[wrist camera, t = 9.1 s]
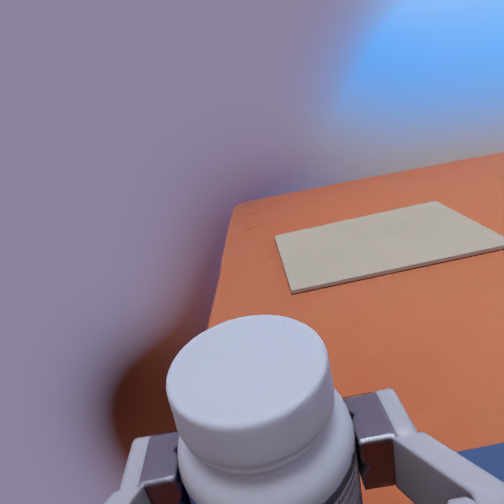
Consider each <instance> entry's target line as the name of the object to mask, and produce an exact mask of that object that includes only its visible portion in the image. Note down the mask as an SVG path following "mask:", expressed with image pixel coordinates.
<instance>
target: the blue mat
mask: <svg viewBox="0 0 504 504" xmlns="http://www.w3.org/2000/svg"><path fill="white" fill-rule="evenodd" d="M456 453H458V454H459V455H461V456H463V457H464V458H466V459H467V460H469V461H471V462H472V463H474V464H475V465H477V466H478V467H480V468H482V469H483V470H485V471H486V472H488V473H490V474H491V475H493V476H494V477H496V478H498V479H499V480H501V481H502V482H504V443H500V444H495V445H490V446H485V447H480V448H475V449H470V450H465V451H460V452H456Z"/></svg>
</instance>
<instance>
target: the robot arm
mask: <svg viewBox="0 0 504 504" xmlns="http://www.w3.org/2000/svg"><path fill="white" fill-rule="evenodd" d="M342 399H343V401H344V402H345V404H346V406H347V408H348V411H349V413H350V416H351V419H352V422H353V428H354V433H355V442H356V450H357V460H358V468H359V473H360V476H361V479H362V481H363V484H364V487H365V490H367V489H373V488H379V487H386V486H392V485H396V487H397V488H399V489H400V490H401V491H402V492H403V493H404V494H405V495H406V496H407V497H408V498H409V499H410V500H411V501H413V502H414V503H415V504H504V482H502V481H501V480H499V479H498V478H496V477H494V476H493V475H491V474H490V473H488V472H486V471H485V470H483V469H482V468H480V467H478V466H477V465H475V464H474V463H472V462H471V461H469V460H467V459H466V458H464V457H463V456H461V455H459V454H458V453H456V452H455V451H453V450H451V449H450V448H448V447H447V446H445V445H443V444H442V443H440V442H439V441H437V440H435V439H434V438H432V437H431V436H429V435H428V434H426V433H424V432H419V433H418V432H417V430H416V428H415V426H414V425H413V423H412V421H411V419H410V418H409V416H408V414H407V412H406V410H405V409H404V407H403V405H402V403H401V402H400V400H399V398H398V396H397V394H396V393H395V391H394V390H393V389H392V388H388V389H383V390H379V391H375V392H369V393H364V394H359V395H354V396H350V397H345V398H342ZM178 439H179V433H178V431H174V432H168V433H163V434H157V435H152V436H147V437H141V438H136V439H135V440H134V442H133V443H132V446H131V450H130V453H129V456H128V460H127V464H126V467H125V471H124V475H123V478H122V482H121V485H120V488H119V491H117V492H113V494H112V495H111V496H110V497H109V498H108V499H107V501H106V502H105V503H104V504H191V501H190V499H189V496H188V494H187V492H186V489H185V487H184V484H183V482H182V479H181V475H180V470H179V465H178Z"/></svg>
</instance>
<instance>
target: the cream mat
mask: <svg viewBox="0 0 504 504" xmlns="http://www.w3.org/2000/svg"><path fill="white" fill-rule="evenodd" d="M274 237H275V241H276V244H277V247H278V251H279V254H280V257H281V260H282V263H283V267H284V270H285V273H286V276H287V280H288V283H289V286H290V289H291V292H292V294H295V293H300V292H305V291H309V290H314V289H319V288H323V287H328V286H333V285H337V284H342V283H347V282H351V281H356V280H361V279H366V278H370V277H375V276H380V275H384V274H389V273H394V272H398V271H403V270H408V269H412V268H417V267H422V266H426V265H431V264H436V263H440V262H445V261H450V260H455V259H459V258H464V257H469V256H473V255H478V254H483V253H487V252H492V251H497V250H501V249H504V236H502V235H500V234H498V233H496V232H494V231H492V230H490V229H488V228H486V227H485V226H483V225H481V224H479V223H477V222H475V221H473V220H471V219H469V218H467V217H465V216H464V215H462V214H460V213H458V212H456V211H454V210H452V209H450V208H448V207H446V206H444V205H442V204H441V203H439V202H437V201H432V202H427V203H423V204H418V205H413V206H409V207H404V208H400V209H395V210H391V211H386V212H381V213H377V214H372V215H368V216H363V217H359V218H354V219H349V220H345V221H340V222H336V223H331V224H327V225H322V226H318V227H313V228H308V229H304V230H299V231H295V232H290V233H286V234H281V235H276V236H274Z"/></svg>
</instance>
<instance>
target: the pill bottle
mask: <svg viewBox="0 0 504 504" xmlns="http://www.w3.org/2000/svg"><path fill="white" fill-rule="evenodd" d="M166 392H167V396H168V400H169V403H170V406H171V410H172V412H173V415H174V419H175V423H176V427H177V430H178V433H179V439H178V465H179V470H180V475H181V479H182V482H183V484H184V487H185V489H186V492H187V494H188V496H189V499H190V501H191V504H363V502H362V493H361V483H360V476H359V468H358V460H357V450H356V442H355V433H354V428H353V422H352V419H351V416H350V413H349V411H348V408H347V406H346V404H345V402H344V401H343V399H342V397H341V396H340V395H339V393H338V392H337V391H336V390H335V388H334V385H333V380H332V375H331V370H330V363H329V357H328V352H327V349H326V347H325V344H324V342H323V341H322V339H321V338H320V336H319V335H318V334H317V333H316V332H315V331H314V330H313V329H311V328H310V327H309V326H307V325H305V324H303V323H301V322H299V321H297V320H294V319H291V318H288V317H283V316H277V315H254V316H245V317H240V318H236V319H232V320H229V321H225V322H223V323H221V324H218V325H216V326H214V327H212V328H210V329H208V330H206V331H204V332H202V333H201V334H199V335H198V336H196V337H195V338H194V339H192V340H191V341H190V342H189V343H188V344H186V345H185V346H184V347H183V348H182V349H181V351H180V352H179V353H178V355H177V356H176V357H175V359H174V360H173V362H172V364H171V367H170V369H169V372H168V375H167V381H166Z"/></svg>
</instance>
